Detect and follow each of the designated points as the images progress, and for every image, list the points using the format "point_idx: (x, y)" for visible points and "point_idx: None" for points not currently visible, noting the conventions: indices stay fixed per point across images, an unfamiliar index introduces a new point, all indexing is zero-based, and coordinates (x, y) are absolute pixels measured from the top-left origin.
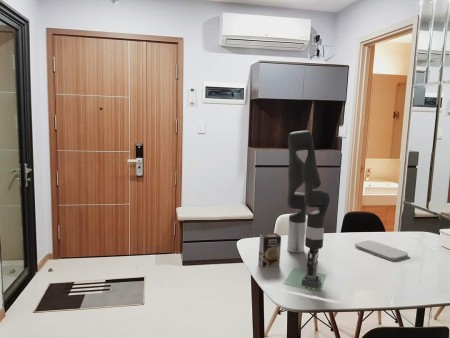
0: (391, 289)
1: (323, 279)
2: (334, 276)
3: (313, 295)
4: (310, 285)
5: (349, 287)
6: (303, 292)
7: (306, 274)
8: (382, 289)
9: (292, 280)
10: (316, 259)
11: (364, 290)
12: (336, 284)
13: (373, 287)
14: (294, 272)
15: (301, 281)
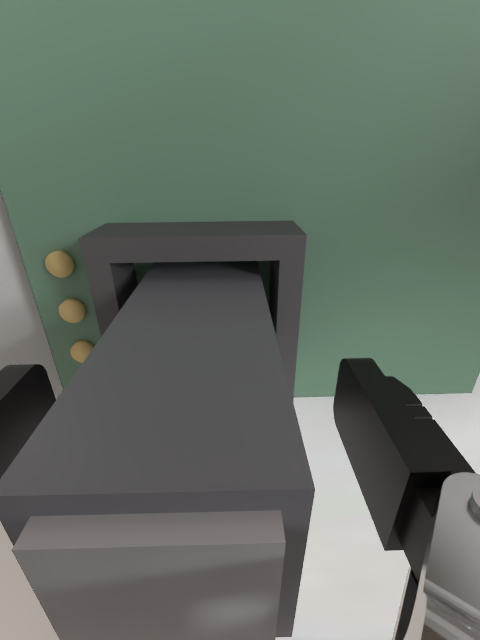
0: (365, 627)
1: None
2: (474, 425)
3: (20, 351)
4: None
5: None
6: (6, 264)
7: (123, 306)
8: (350, 608)
9: (154, 70)
10: (408, 582)
11: None
12: (323, 453)
13: (360, 586)
14: (455, 21)
15: (189, 201)
